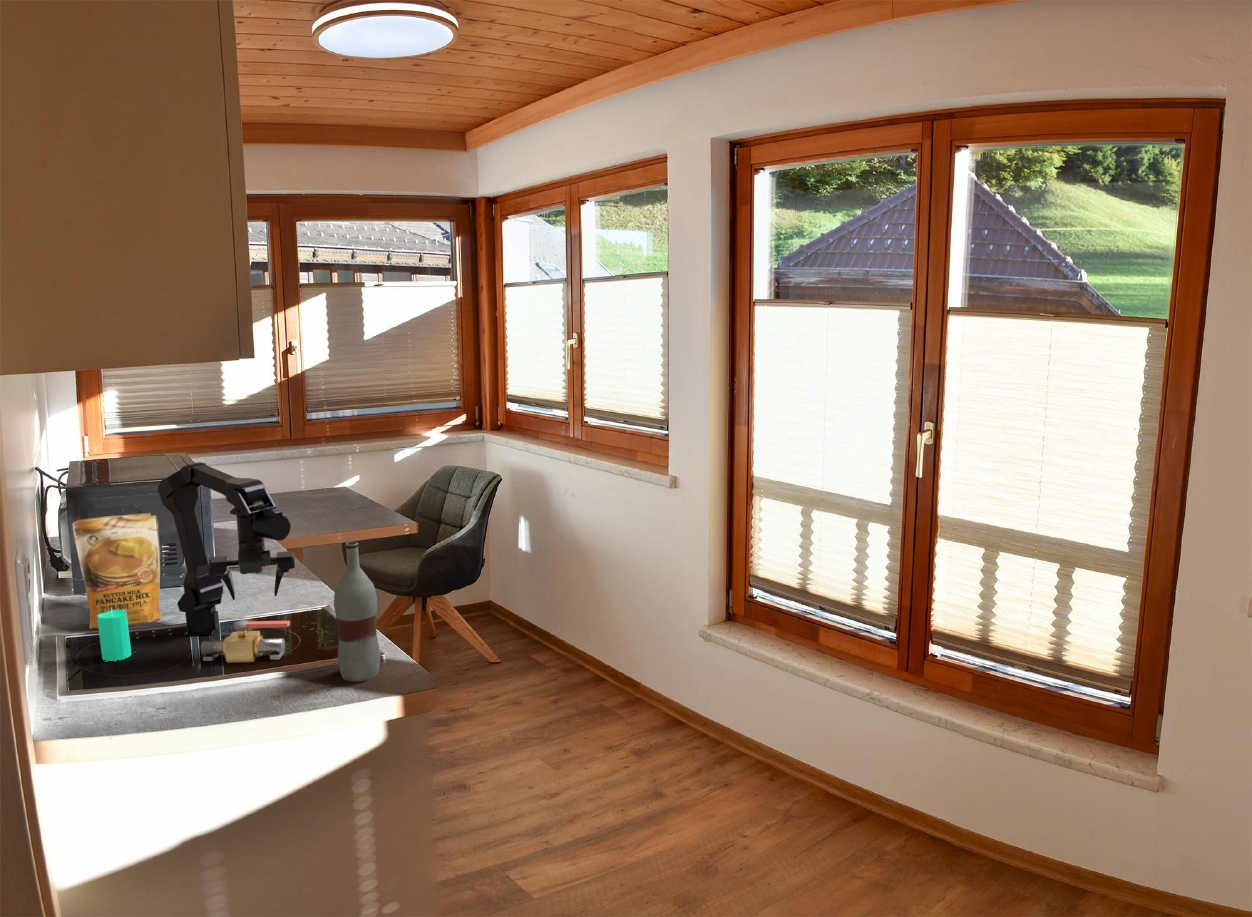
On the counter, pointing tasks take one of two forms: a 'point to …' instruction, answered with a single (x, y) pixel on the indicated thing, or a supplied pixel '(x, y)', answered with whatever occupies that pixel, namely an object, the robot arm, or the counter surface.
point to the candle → (114, 635)
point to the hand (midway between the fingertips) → (255, 597)
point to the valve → (243, 647)
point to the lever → (259, 624)
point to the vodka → (356, 621)
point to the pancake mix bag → (120, 565)
